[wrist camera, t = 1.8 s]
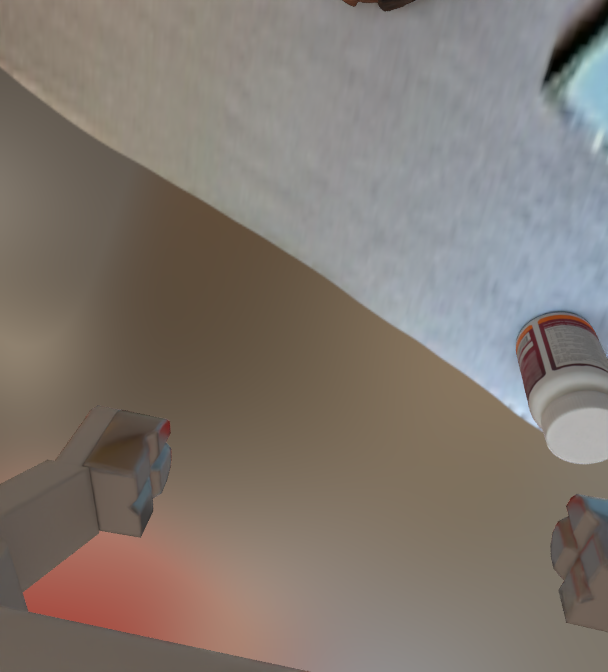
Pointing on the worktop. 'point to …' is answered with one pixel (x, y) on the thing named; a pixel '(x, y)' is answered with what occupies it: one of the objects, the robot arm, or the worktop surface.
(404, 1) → the pottery mug
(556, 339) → the pill bottle
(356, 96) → the worktop surface
